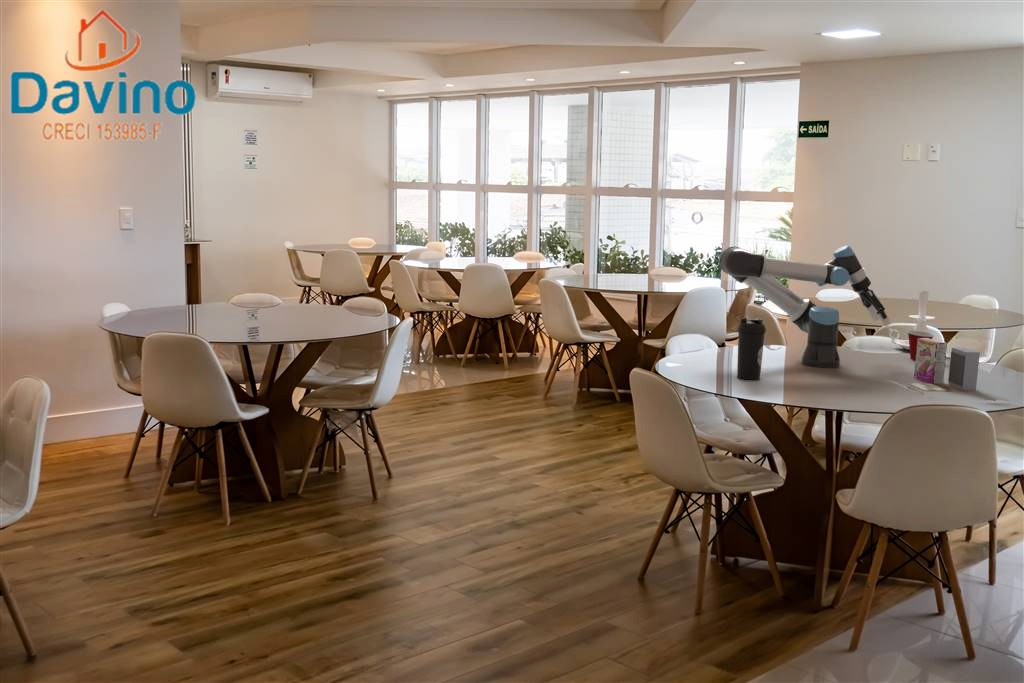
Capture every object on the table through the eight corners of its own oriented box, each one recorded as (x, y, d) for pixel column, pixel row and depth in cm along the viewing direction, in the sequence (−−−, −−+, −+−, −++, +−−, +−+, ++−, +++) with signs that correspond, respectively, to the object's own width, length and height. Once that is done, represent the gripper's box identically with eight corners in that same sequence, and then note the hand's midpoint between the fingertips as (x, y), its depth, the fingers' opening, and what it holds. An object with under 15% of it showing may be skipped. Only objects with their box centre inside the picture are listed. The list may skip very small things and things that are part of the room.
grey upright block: (961, 390, 359) (965, 352, 357) (947, 384, 369) (950, 347, 367) (975, 390, 360) (979, 352, 357) (961, 384, 369) (964, 347, 367)
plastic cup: (929, 363, 421) (932, 335, 419) (902, 360, 426) (905, 332, 424) (933, 359, 430) (936, 332, 428) (906, 356, 435) (909, 329, 433)
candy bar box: (912, 380, 381) (916, 338, 379) (923, 379, 383) (927, 337, 380) (932, 386, 371) (936, 342, 368) (943, 385, 372) (948, 342, 369)
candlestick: (894, 344, 469) (900, 285, 465) (949, 351, 453) (955, 290, 449) (878, 349, 454) (884, 288, 449) (934, 356, 438) (940, 293, 433)
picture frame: (923, 393, 356) (923, 390, 356) (906, 386, 369) (906, 383, 369) (979, 394, 358) (979, 390, 358) (959, 386, 371) (960, 383, 371)
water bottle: (760, 382, 370) (764, 320, 366) (732, 379, 373) (736, 319, 369) (763, 377, 379) (767, 317, 375) (736, 375, 382) (740, 315, 379)
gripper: (876, 278, 406) (901, 322, 409) (856, 271, 430) (880, 313, 433) (860, 288, 406) (885, 331, 409) (841, 281, 431) (865, 322, 434)
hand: (882, 322), depth 421 cm, fingers open, 13 cm apart
